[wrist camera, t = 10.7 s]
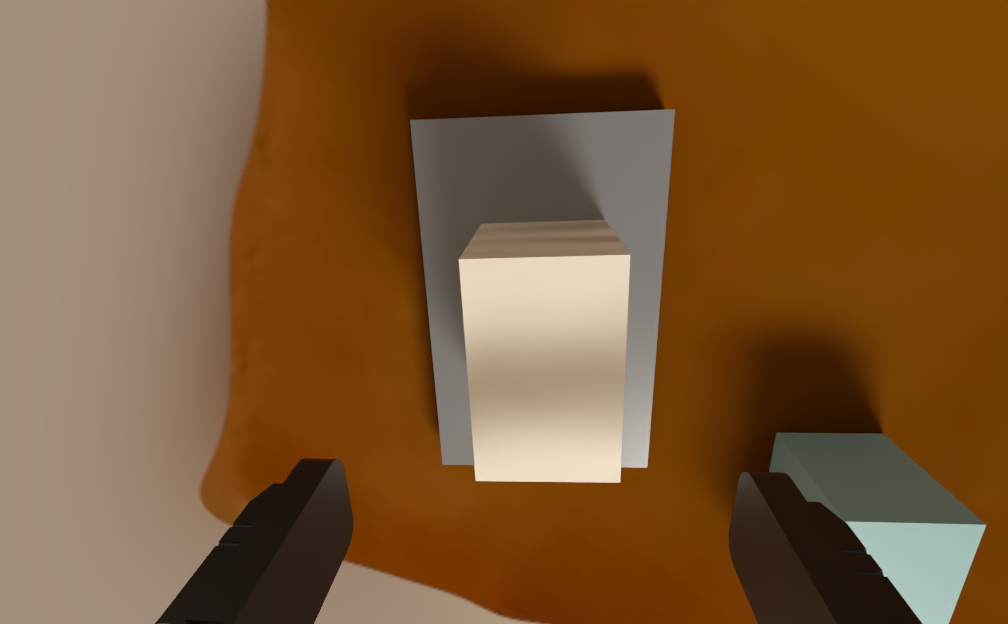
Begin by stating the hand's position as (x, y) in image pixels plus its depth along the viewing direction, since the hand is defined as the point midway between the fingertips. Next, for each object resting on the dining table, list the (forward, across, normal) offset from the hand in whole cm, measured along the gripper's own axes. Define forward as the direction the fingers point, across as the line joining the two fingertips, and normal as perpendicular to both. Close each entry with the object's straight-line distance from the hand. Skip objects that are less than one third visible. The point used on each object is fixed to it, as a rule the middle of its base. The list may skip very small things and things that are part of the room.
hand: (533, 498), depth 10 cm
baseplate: (+13, 0, +1) cm, 13 cm away
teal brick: (+13, -14, +12) cm, 23 cm away
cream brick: (+12, 0, +1) cm, 12 cm away
